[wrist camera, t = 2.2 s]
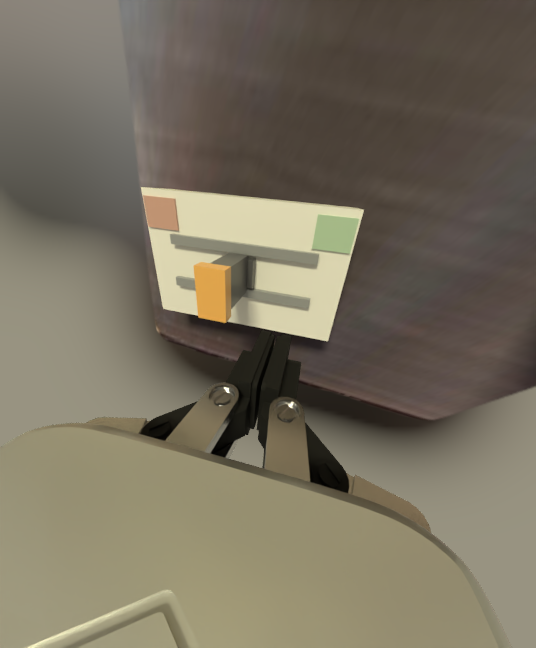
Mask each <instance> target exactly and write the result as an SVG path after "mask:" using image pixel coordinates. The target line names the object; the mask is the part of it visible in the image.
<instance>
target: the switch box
mask: <svg viewBox="0 0 536 648" xmlns="http://www.w3.org/2000/svg"><path fill="white" fill-rule="evenodd" d="M141 189H142V195H143V200H144V206H145V211H146V217H147V222H148V228H149V233H150V239H151V244H152V250H153V255H154V261H155V266H156V272H157V277H158V283H159V288H160V294H161V299H162V304H163V309H167V310H172V311H177V312H182V313H187V314H192V315H197V316H198V310H197V299H196V288H195V277H194V267H193V266H194V265H196V264H198V263H200V262H205V263H211V262H213V261H215V260H217V259H218V258H220V257H222V256H224V255H226V254H228V253H235V254H242V255H248V258H254V259H256V266H255V285H254V287H253V288H252V289H251V288H247V291H246V293H245V294H244V295H243V297H242V298H241V299H240V300H239V301H238V302H237V303H236V305H235V306H234V307H233V308H232V309H231V317H230V319H229V320H228V321H227V322H233V323H238V324H243V325H248V326H253V327H258V328H263V329H268V330H273V331H278V332H283V333H288V334H293V335H298V336H303V337H308V338H313V339H318V340H323V341H328V339H329V335H330V332H331V328H332V324H333V321H334V317H335V313H336V310H337V306H338V302H339V299H340V295H341V292H342V288H343V284H344V281H345V277H346V273H347V270H348V266H349V262H350V259H351V255H352V251H353V248H354V244H355V240H356V237H357V233H358V229H359V226H360V222H361V219H362V215H363V211H364V210H362V209H359V208H353V207H343V206H333V205H323V204H314V203H304V202H294V201H284V200H274V199H264V198H254V197H245V196H235V195H225V194H215V193H205V192H195V191H185V190H176V189H162V188H146V187H141Z"/></svg>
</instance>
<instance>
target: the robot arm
mask: <svg viewBox="0 0 536 648" xmlns="http://www.w3.org/2000/svg"><path fill="white" fill-rule="evenodd" d="M291 337H292V336H289V335H284V334H282V335H281V337H280V336H277V339H276V342H275V345H274V340H275V335H272V332H268V331H263V330H262V331H261V333H260V335H259V337H258V339H257V342H256V344H255V346H254V348H253V350H252V352H250V351H245V350H244V351H242V353H241V355H240V357H239V359H238V361H237V362H236V364H235V366H234V368H233V370H232V372H231V374H230V376H229V378H228V380H227V381H226V383H218V384H215V385H213V386H211V387H210V388H209V389H208V390H207V391H206V392H205V393H204V395H203V396H202V397H201V398H200V399H199V401H197V402H195V403H192V404H190V405H187V406H184V407H182V408H179V409H177V410H174V411H172V412H169V413H167V414H164V415H162V416H159V417H157V418H155V419H153V420H151V421H147V419H146V418H113V417H112V418H111V417H109V418H108V417H101V418H95V419H93V420H90V421H88V422H87V423H65V424H56V425H50V426H45V427H41V428H37V429H34V430H31V431H28V432H25V433H24V434H22V435H20V436H18V437H16V438H14V439H12V440H11V441H9V442H7V443H6V444H5V445H3V446H1V447H0V648H512V646H511V644H510V642H509V640H508V638H507V636H506V633H505V632H504V629H503V627H502V625H501V623H500V621H499V619H498V617H497V615H496V613H495V611H494V609H493V607H492V605H491V603H490V601H489V600H488V598H487V596H486V594H485V593H484V591H483V589H482V587H481V586H480V584H479V582H478V581H477V579H476V578H475V577H474V575H473V574H472V572H471V571H470V569H469V568H468V567H467V566H466V565H465V563H464V562H463V561H462V560H461V559H460V558H459V557H458V556H457V555H456V554H455V553H454V552H453V551H452V550H451V549H450V548H449V547H448V546H446V545H445V544H444V543H443V542H442V541H441V540H439V539H438V538H437V537H435V536H434V535H433V534H432V533H431V530H430V527H429V524H428V522H427V520H426V519H425V517H424V515H423V514H422V513H421V512H420V511H419V510H418V509H417V508H416V507H415V506H413V505H412V504H411V503H409V502H408V501H406V500H404V499H402V498H400V497H398V496H396V495H394V494H392V493H390V492H388V491H386V490H384V489H382V488H380V487H378V486H376V485H374V484H372V483H371V482H369V481H367V480H365V479H363V478H361V477H359V476H357V475H355V476H354V477H353V476H351V475H349V474H347V473H346V472H345V470H344V469H343V467H342V466H341V465H340V464H339V462H338V461H337V460H336V459H335V457H334V456H333V455H332V454H331V453H330V451H329V450H328V449H327V448H326V447H325V446H324V444H323V443H322V442H321V441H320V440H319V438H318V437H317V436H316V435H315V434H314V432H313V431H312V430H311V429H310V428H309V426H308V425H307V424H306V423H305V417H304V410H303V407H302V406H301V404H300V403H299V402H298V401H297V400H296V397H297V390H298V382H299V375H300V367H301V362H298V361H293V360H289V359H288V355H289V349H290V343H291ZM257 417H258V424H257V430H259V435H258V440H259V442H260V443H261V445H262V446H263V448H264V454H263V466H262V468H259V467H256V466H252V465H249V464H245V463H242V462H238V461H235V460H231V459H229V457H230V455H231V454H232V452H233V450H234V448H235V446H236V443H237V441H238V439H239V438H241V437H243V436H245V434H246V435H248V433H249V430H250V428H251V429H254V427H255V424H256V420H257Z"/></svg>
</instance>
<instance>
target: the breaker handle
mask: <svg viewBox="0 0 536 648" xmlns="http://www.w3.org/2000/svg"><path fill="white" fill-rule="evenodd" d="M255 266H256V259H254V258H248V255H242V254H235V253H228V254H226V255H224V256H222V257H220V258H218V259H217V260H215V261H213V262H211V263H205V262H200V263H198V264H196V265H194V266H193V267H194V277H195V288H196V299H197V310H198V318H203V319H208V320H213V321H218V322H223V323H226V322H227V321H228V320H229V319H230V317H231V309H232V308H233V307H234V306H235V305H236V303H237V302H238V301H239V300H240V299H241V298H242V297H243V295H244V294H245V293H246V291H247V288H251V289H252V288H253V287H254V285H255Z"/></svg>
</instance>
